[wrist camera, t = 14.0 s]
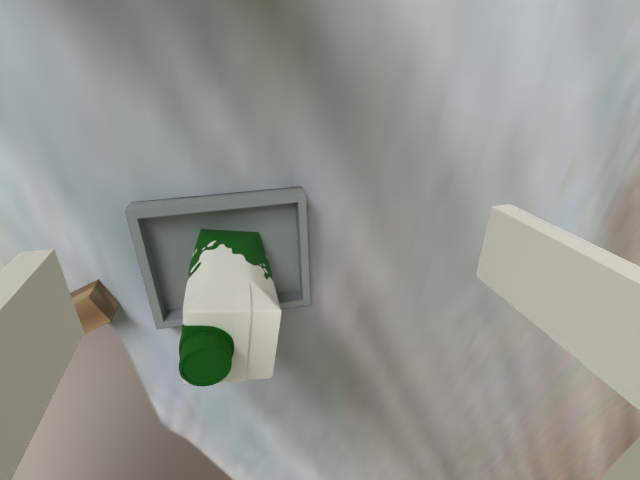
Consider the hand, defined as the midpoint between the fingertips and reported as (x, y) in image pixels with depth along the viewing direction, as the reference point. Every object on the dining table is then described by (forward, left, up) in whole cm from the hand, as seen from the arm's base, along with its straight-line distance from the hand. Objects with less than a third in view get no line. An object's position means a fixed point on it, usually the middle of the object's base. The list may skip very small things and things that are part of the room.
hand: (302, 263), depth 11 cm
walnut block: (+20, -21, -34) cm, 45 cm away
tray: (+16, -4, -34) cm, 38 cm away
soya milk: (+16, -4, -34) cm, 37 cm away
